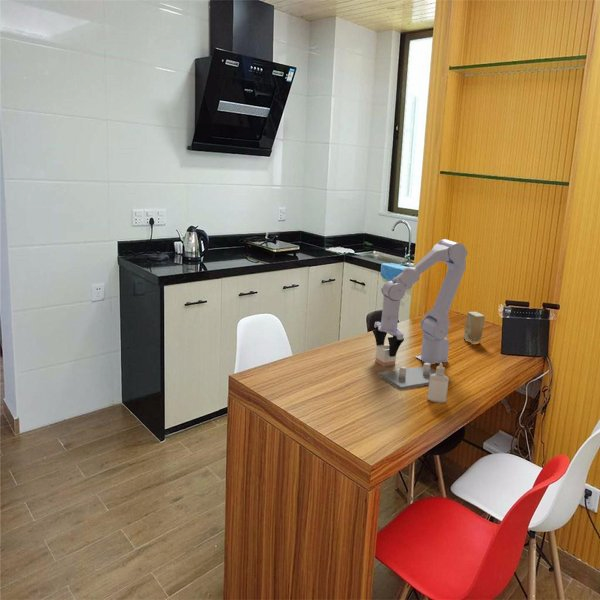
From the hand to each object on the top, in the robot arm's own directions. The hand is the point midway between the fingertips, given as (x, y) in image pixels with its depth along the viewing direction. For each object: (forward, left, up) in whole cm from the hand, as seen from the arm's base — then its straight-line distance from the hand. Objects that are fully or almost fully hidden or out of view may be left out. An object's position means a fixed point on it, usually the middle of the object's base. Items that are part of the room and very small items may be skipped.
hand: (386, 352), depth 191 cm
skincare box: (-49, -8, -4) cm, 50 cm away
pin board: (-1, +15, -4) cm, 16 cm away
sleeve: (0, 0, -4) cm, 4 cm away
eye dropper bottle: (+3, +31, -4) cm, 31 cm away
